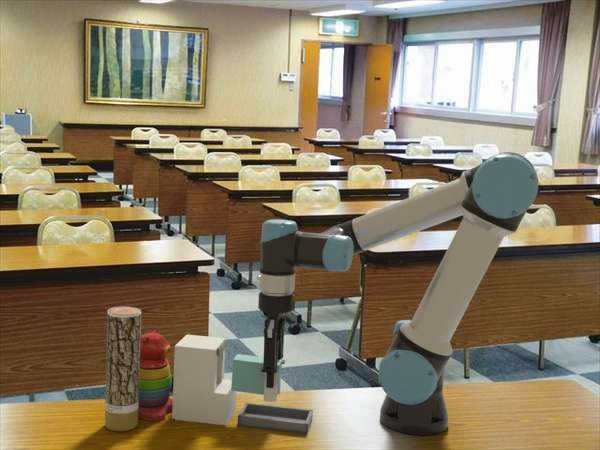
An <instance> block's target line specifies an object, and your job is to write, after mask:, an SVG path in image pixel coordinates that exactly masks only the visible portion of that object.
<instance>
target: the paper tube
mask: <svg viewBox="0 0 600 450" xmlns="http://www.w3.org/2000/svg"><path fill="white" fill-rule="evenodd" d="M106 316H107V317H106V319H107V320H106V358H105V359H106V360H105V394H104V395H105V396H104V397H105V398H104V399H105V401H104V402H105V403H104V404H105V406H104V425H105V427H106V429H107V430H109V431H112V432H117V431H118V432H129V431H132V430H134V429H135V428H136V427H137V426H138V425H139V423H138V422H139V418H138V406H139V372H140V338H141V336H142V333H141V332H142V310H141V309H140V308H137V307H132V306H114V307H111V308H108V309H107V315H106Z"/></svg>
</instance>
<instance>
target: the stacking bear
mask: <svg viewBox="0 0 600 450" xmlns="http://www.w3.org/2000/svg"><path fill="white" fill-rule="evenodd" d="M170 352H171V345H170V343H169V341H167V339H166V338H165V337H164V335H162V334H161V333H158V330H156V329H154V330H152V331H151V332H146V333H144V334H141V338H140V372H139V406H138V419H141V420H145V421H149V422H161V421H163V420H164V419H166V414H168V413H169V412H172V410H173V397H170V393H171V390H172V384H173V380H172V379H173V377H172V373H171V367H170V364H169V360H168V358H166V357H168V355H169V354H170Z"/></svg>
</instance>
